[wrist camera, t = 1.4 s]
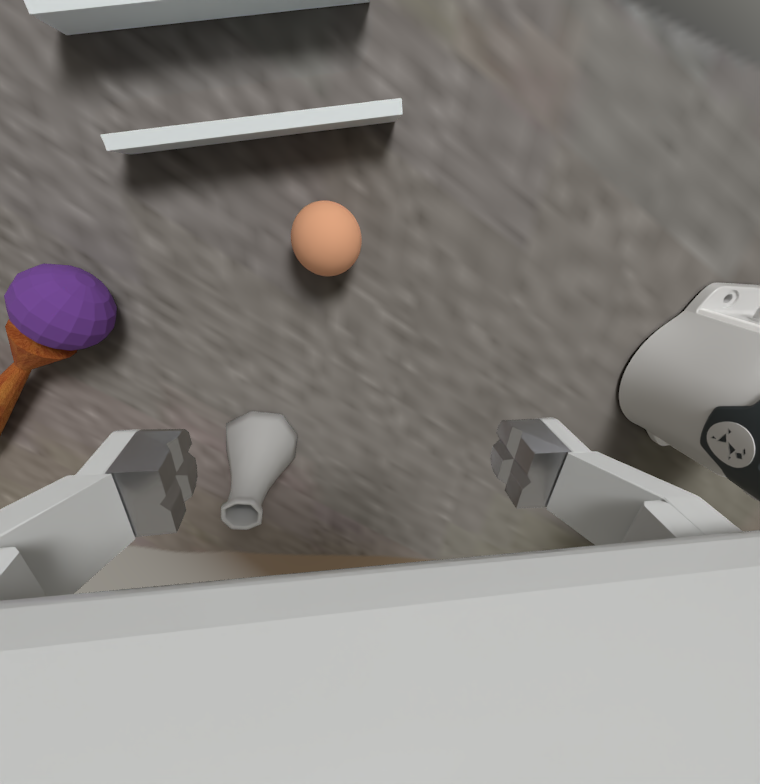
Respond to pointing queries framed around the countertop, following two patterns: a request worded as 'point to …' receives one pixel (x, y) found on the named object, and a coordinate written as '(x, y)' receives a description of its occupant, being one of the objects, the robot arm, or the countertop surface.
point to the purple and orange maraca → (51, 322)
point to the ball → (326, 238)
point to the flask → (255, 464)
